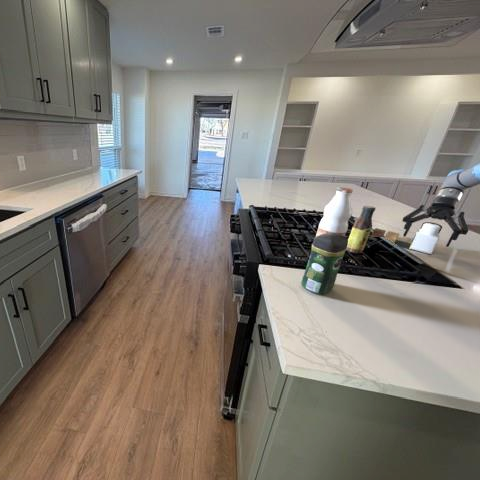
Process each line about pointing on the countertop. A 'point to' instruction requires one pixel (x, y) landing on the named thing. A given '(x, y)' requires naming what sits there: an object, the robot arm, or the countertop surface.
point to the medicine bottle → (426, 237)
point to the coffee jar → (324, 262)
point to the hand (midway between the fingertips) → (425, 239)
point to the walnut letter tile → (378, 233)
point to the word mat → (404, 245)
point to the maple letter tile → (392, 236)
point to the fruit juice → (337, 213)
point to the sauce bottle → (361, 230)
